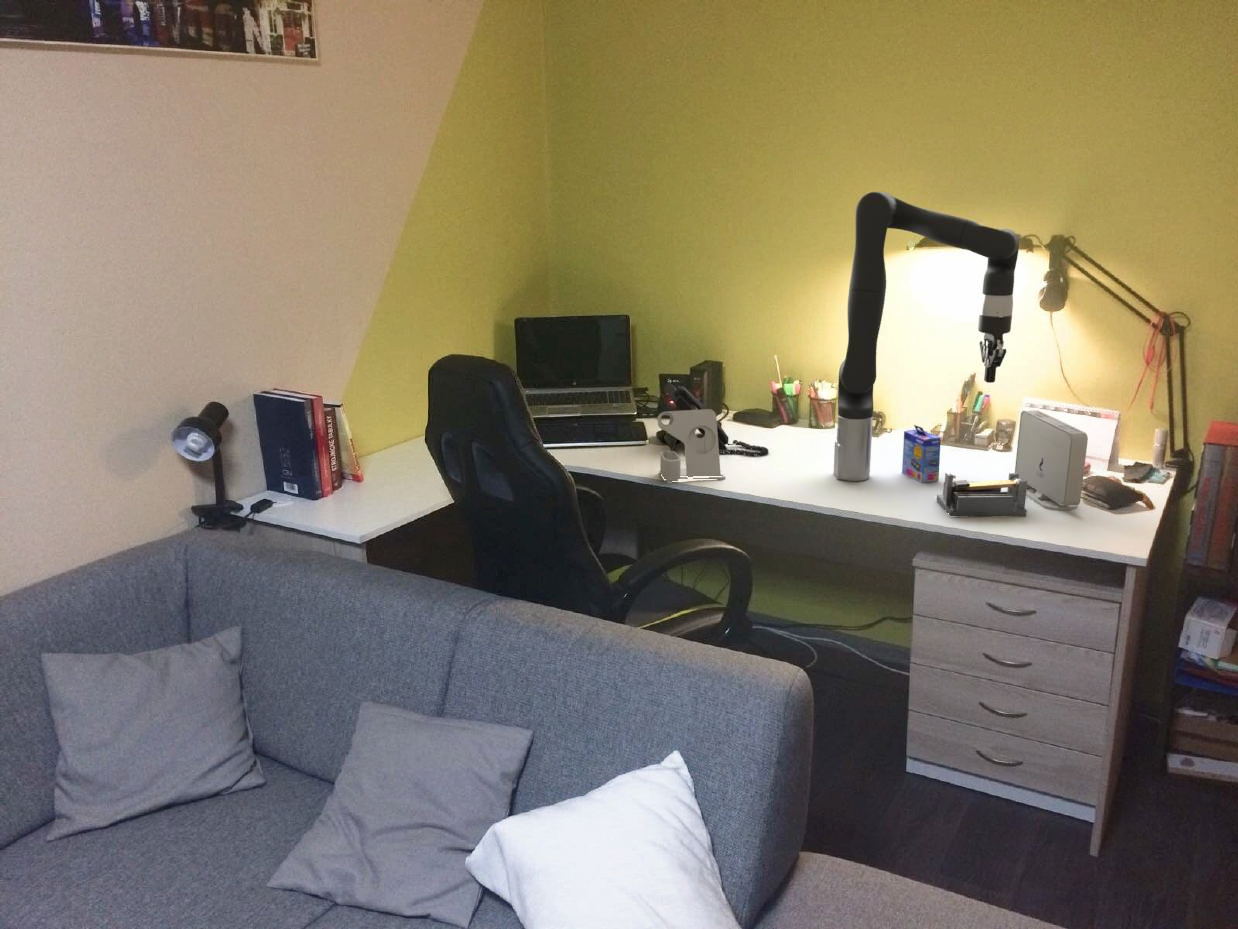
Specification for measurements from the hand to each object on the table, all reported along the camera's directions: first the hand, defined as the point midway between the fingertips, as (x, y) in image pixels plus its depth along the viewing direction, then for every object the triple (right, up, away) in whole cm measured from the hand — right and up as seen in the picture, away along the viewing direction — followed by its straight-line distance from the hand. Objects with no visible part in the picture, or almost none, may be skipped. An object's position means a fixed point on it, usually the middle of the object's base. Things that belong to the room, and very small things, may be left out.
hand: (989, 381), depth 243 cm
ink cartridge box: (-11, -24, +21) cm, 34 cm away
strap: (-2, -27, -5) cm, 27 cm away
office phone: (-64, -15, +56) cm, 86 cm away
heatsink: (-4, -32, -4) cm, 32 cm away
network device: (+15, -29, +3) cm, 33 cm away
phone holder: (-73, -24, +26) cm, 81 cm away
